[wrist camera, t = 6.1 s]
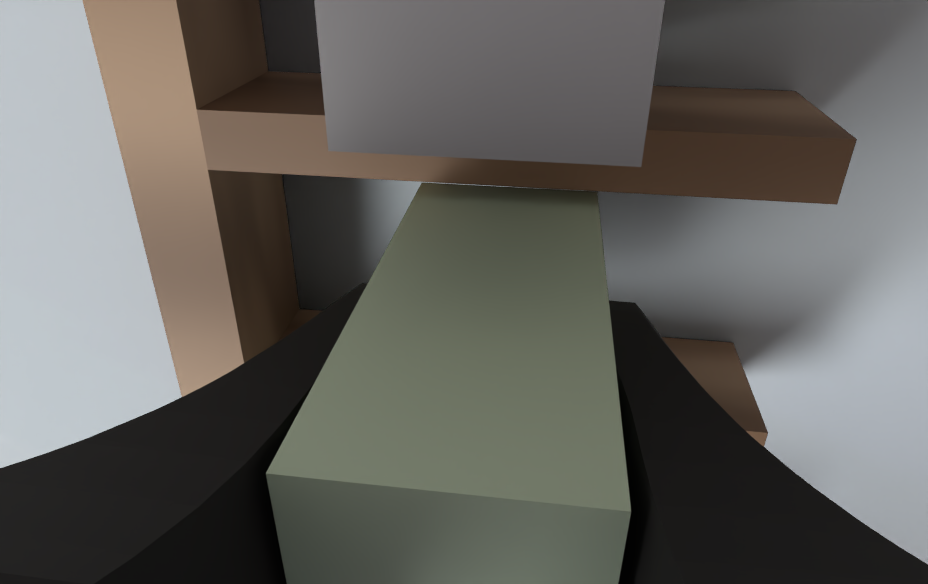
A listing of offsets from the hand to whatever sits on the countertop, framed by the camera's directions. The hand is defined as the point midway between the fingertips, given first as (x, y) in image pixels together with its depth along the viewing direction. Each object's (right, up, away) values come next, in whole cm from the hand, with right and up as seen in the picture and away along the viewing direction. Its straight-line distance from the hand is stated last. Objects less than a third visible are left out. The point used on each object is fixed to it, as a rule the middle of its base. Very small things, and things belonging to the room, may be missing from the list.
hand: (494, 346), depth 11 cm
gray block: (+1, +7, +1) cm, 7 cm away
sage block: (0, +1, +2) cm, 2 cm away
